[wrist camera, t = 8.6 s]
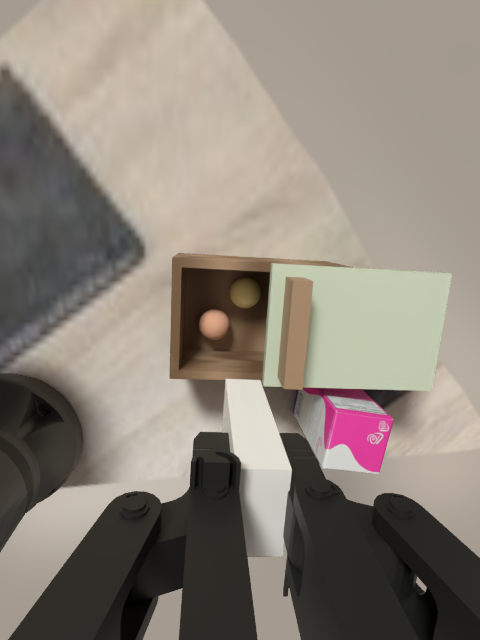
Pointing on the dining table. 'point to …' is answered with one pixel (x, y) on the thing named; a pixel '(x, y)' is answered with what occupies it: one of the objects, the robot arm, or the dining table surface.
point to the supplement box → (343, 428)
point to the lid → (353, 327)
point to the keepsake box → (214, 293)
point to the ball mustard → (245, 292)
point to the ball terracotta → (214, 324)
